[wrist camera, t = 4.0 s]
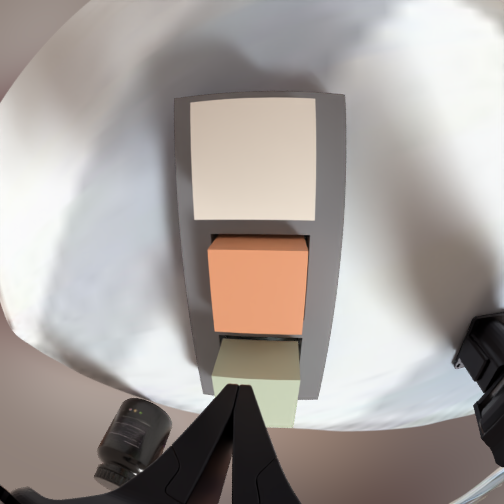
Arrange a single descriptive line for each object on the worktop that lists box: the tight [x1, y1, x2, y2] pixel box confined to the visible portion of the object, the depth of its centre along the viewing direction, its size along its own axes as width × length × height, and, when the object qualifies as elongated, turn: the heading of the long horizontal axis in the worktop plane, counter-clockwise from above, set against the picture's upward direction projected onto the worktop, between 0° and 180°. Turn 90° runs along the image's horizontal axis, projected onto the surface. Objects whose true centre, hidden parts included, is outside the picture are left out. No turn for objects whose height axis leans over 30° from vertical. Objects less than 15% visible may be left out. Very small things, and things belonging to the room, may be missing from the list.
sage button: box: [212, 338, 300, 428], centre depth 18 cm, size 5×5×4 cm
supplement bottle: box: [94, 398, 172, 491], centre depth 22 cm, size 7×7×12 cm
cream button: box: [190, 97, 316, 221], centre depth 13 cm, size 5×5×4 cm
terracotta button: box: [208, 234, 308, 335], centre depth 17 cm, size 5×5×4 cm
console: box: [174, 91, 346, 400], centre depth 19 cm, size 10×23×2 cm, turn 1°
